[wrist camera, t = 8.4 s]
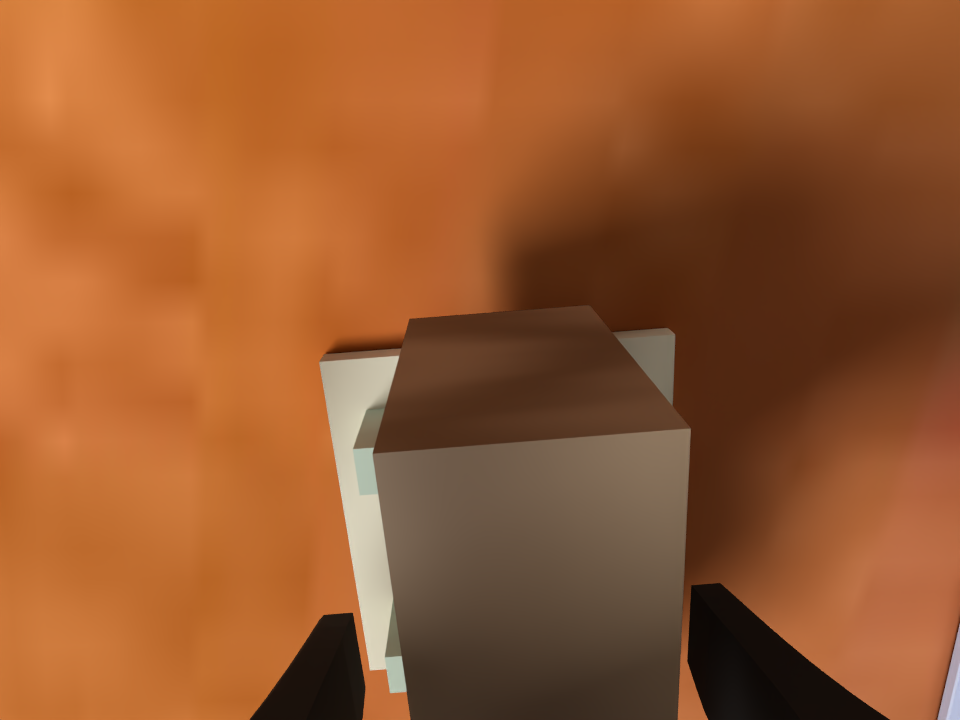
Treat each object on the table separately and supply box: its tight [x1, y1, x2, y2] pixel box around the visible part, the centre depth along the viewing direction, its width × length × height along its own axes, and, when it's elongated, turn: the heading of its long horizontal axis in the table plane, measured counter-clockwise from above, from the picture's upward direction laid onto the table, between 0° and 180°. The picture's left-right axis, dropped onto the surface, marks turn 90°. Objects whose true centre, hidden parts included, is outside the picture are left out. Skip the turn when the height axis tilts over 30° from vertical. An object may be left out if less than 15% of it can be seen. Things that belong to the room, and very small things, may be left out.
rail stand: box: [319, 328, 675, 693], centre depth 17 cm, size 9×10×3 cm
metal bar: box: [372, 305, 691, 720], centre depth 12 cm, size 4×13×6 cm, turn 4°
